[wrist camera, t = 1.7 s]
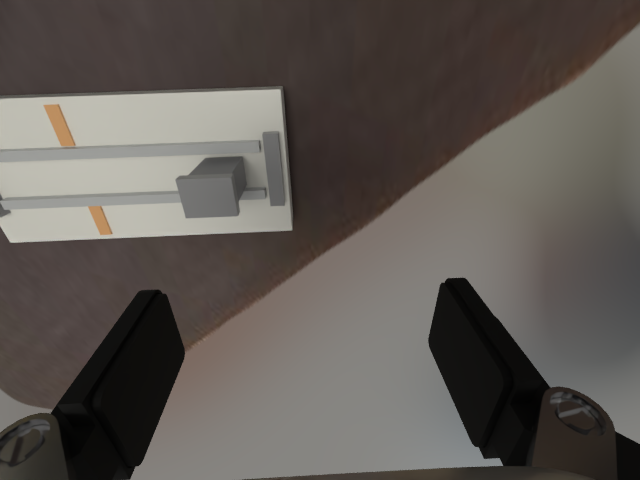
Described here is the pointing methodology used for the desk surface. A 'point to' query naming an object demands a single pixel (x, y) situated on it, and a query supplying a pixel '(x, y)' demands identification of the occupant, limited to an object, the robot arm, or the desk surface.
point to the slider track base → (137, 161)
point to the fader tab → (213, 188)
